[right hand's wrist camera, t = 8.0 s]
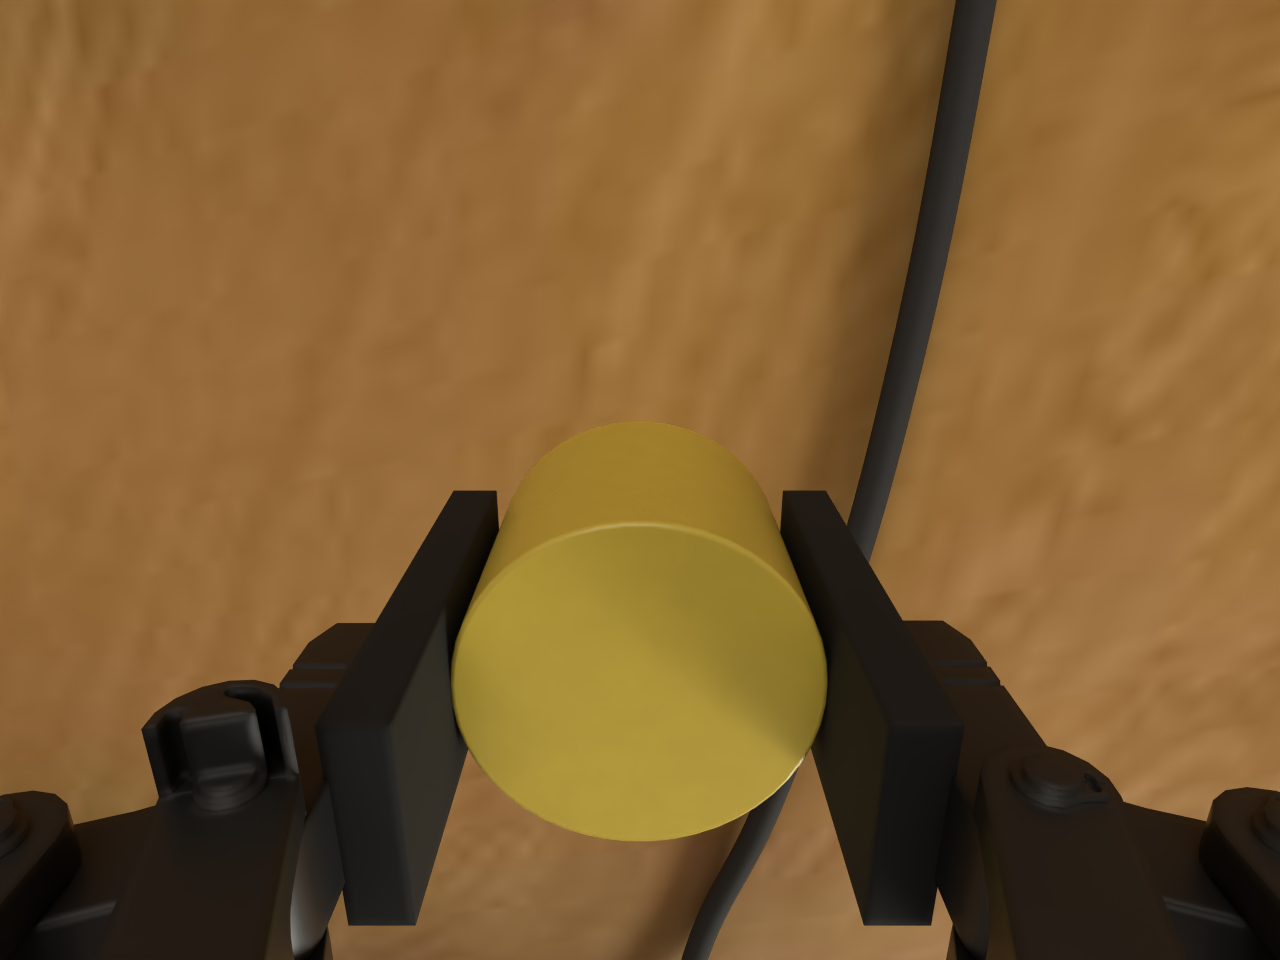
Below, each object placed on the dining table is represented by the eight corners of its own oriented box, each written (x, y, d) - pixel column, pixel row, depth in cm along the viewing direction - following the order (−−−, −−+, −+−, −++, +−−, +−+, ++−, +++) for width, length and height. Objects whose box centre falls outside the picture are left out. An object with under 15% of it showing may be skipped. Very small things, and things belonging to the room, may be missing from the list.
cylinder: (484, 429, 14) (419, 536, 10) (774, 410, 14) (832, 509, 10) (519, 675, 16) (476, 852, 12) (777, 660, 16) (826, 833, 12)
